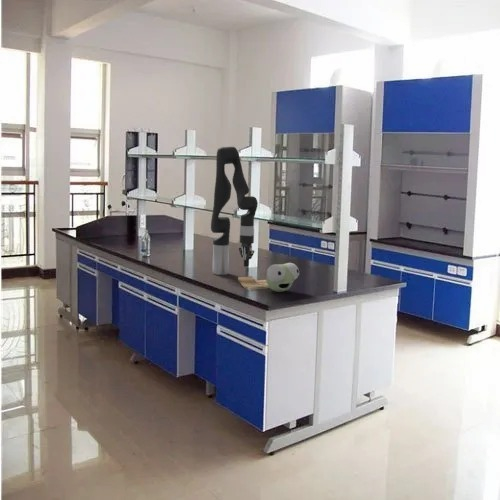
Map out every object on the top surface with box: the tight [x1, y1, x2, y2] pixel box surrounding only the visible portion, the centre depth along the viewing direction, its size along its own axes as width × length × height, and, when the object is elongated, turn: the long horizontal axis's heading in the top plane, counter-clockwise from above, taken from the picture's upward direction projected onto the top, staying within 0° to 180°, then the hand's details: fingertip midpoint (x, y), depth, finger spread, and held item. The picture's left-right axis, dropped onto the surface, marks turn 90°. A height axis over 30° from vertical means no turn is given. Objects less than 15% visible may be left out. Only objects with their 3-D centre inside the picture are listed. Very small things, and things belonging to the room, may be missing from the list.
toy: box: [265, 262, 300, 293], centre depth 305 cm, size 18×15×15 cm
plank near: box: [237, 275, 259, 289], centre depth 317 cm, size 8×8×1 cm
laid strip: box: [244, 284, 271, 291], centre depth 314 cm, size 5×18×1 cm, turn 121°
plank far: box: [255, 279, 267, 285], centre depth 323 cm, size 8×8×1 cm
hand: (246, 266), depth 318 cm, fingers closed
